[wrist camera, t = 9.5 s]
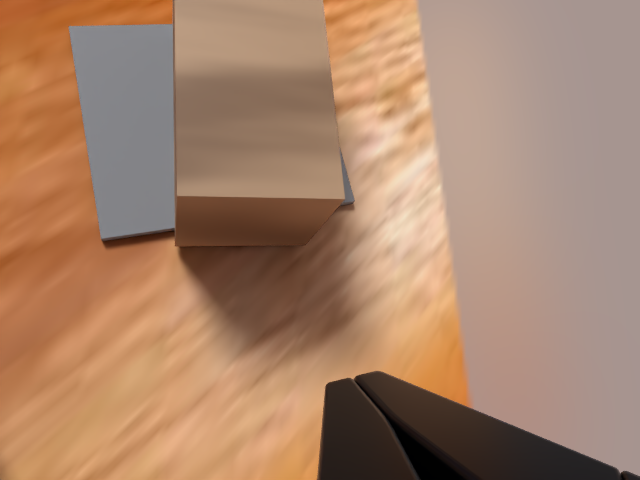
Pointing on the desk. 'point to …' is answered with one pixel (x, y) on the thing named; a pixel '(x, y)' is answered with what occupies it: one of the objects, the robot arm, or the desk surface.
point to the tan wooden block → (253, 123)
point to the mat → (132, 125)
